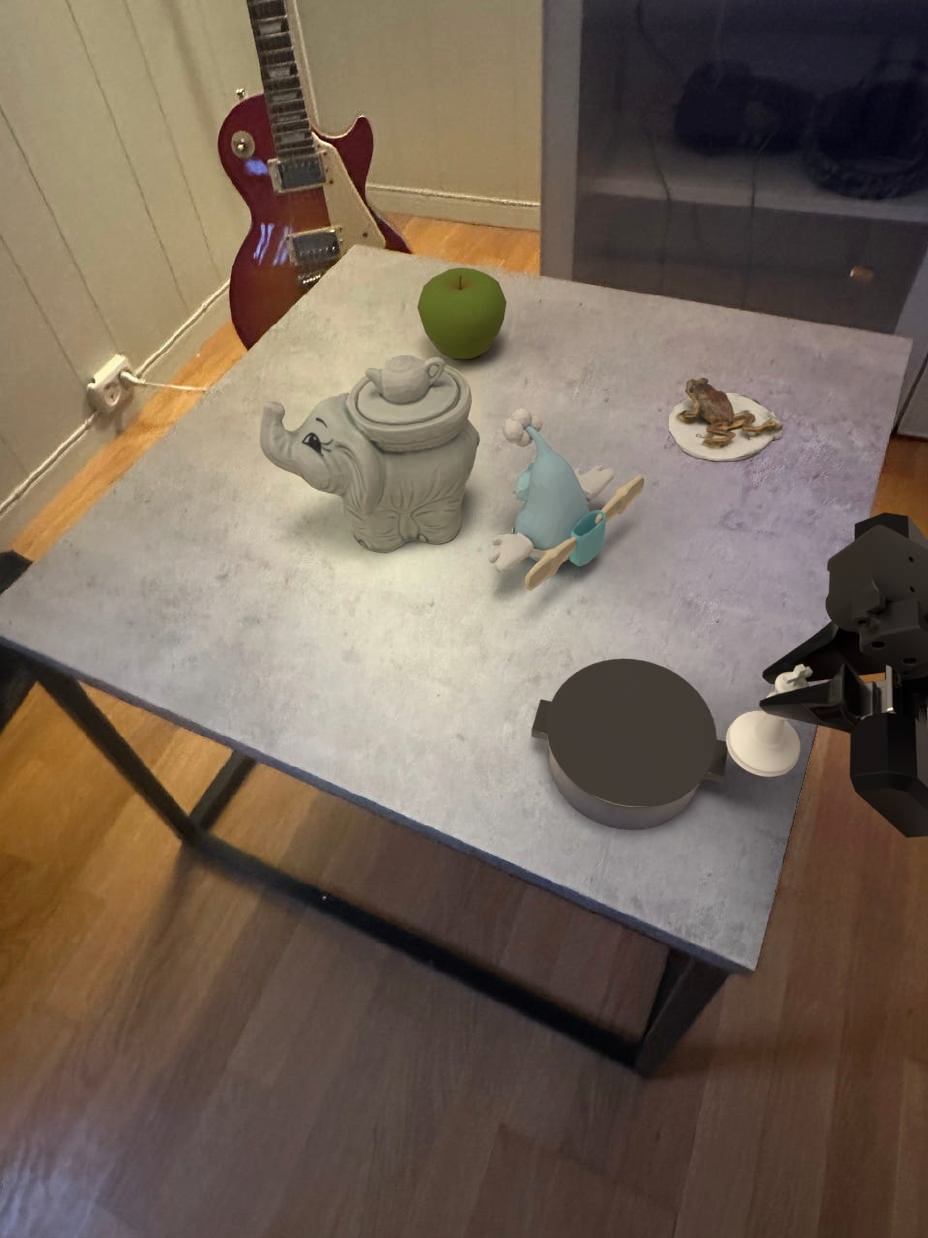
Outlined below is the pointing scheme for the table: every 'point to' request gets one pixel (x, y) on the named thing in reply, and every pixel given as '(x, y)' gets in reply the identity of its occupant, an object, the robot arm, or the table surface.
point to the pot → (629, 742)
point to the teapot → (386, 451)
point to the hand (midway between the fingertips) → (764, 692)
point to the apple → (462, 312)
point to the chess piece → (767, 733)
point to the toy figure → (555, 507)
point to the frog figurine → (721, 424)
